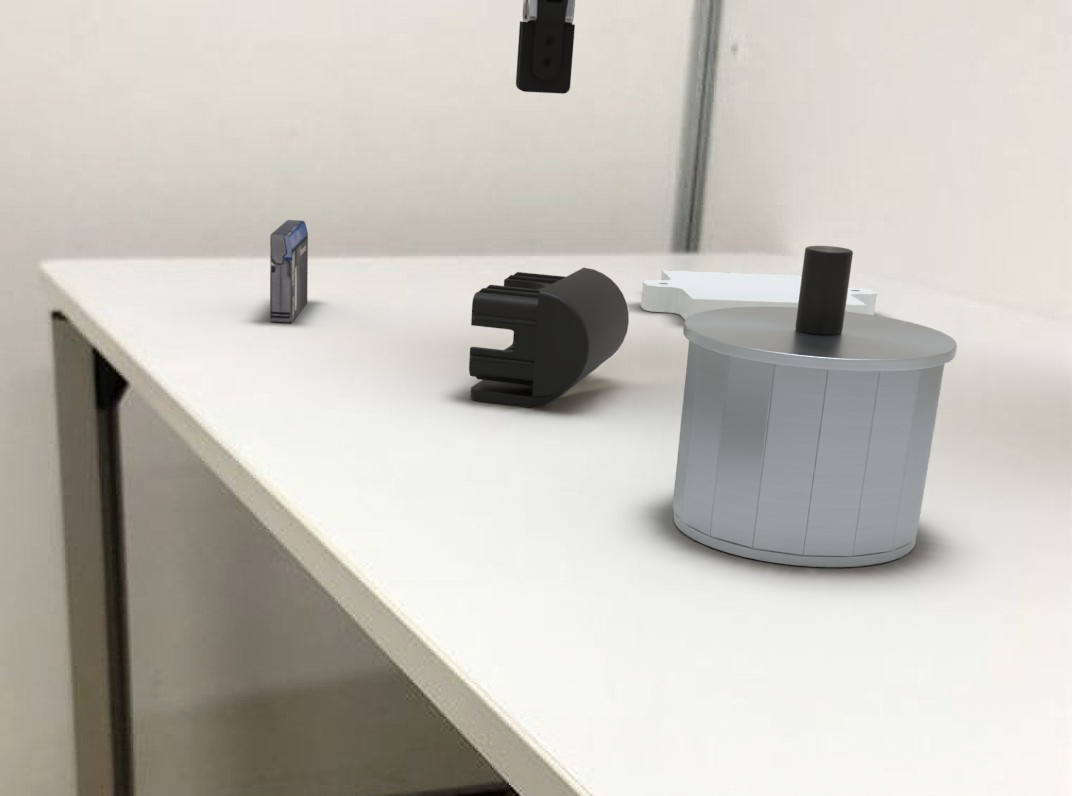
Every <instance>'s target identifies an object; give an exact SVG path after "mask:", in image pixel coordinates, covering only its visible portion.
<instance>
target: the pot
mask: <svg viewBox="0 0 1072 796" xmlns="http://www.w3.org/2000/svg"><path fill="white" fill-rule="evenodd" d="M686 359H687V360H686V368H685V369H686V370H685V378H684V390H683V400H682V409H681V418H680V420H681V421H680V428H679V438H678V449H677V458H676V468H675V477H674V488H673V499H672V509H673V522H674V524H675V526H676V527H677V528H678V530H679V531H681V532H682V533H683V534H684V535H685V536H687V537H689V538H690V539H692V540H693V541H696V542H698V543H700V544H702V545H703V546H707V547H709V548H712V549H715V550H717V551H720V552H724V553H726V554H730V555H734V556H738V557H742V558H746V559H751V560H757V561H760V562H766V563H767V562H768V563H773V564H779V565H787V566H797V567H807V568H809V567H810V568H811V567H812V568H854V567H855V568H856V567H864V566H873V565H878V564H884V563H888V562H892V561H895V560H897V559H901V558H903V557H905V556H906V555H908V554H909V553H910V552H911V551H912V550H913V549H914V547H915V546H916V541H917V535H918V530H919V524H920V518H921V513H922V506H923V501H924V494H925V487H926V483H927V475H928V469H929V462H930V457H931V452H932V451H931V450H932V444H933V440H934V439H933V437H934V432H935V426H936V419H937V413H938V407H939V400H940V394H941V389H942V381H943V376H944V370H945V364H943V365H939V366H935V367H931V368H924V369H917V370H907V371H880V372H868V371H838V370H823V369H812V368H801V367H793V366H785V365H777V364H771V363H764V362H759V361H753V360H748V359H743V358H738V357H734V356H730V355H726V354H722V353H718V352H715V351H712V350H709V349H706V348H704V347H701V346H699V345H697V344H695V343H693V342H691V341H689V340H688V349H687V357H686Z"/></svg>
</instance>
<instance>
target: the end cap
mask: <svg viewBox="0 0 1072 796" xmlns="http://www.w3.org/2000/svg"><path fill="white" fill-rule="evenodd" d="M629 315H630V314H629V309H628V304H627V301H626V299H625V296H624V293H623V292H622V291H621V289H620V287H619V286H618V284H616V282H614V281H613V280H612V279H611V278H610V277H609V276H607V275H606V274H604V273H602V272H601V271H598V270H596V269H594V268H589V267H582V268H580V269H577V271H574V272H572V273H571V274H569V275H567V276H563V275H552V274H543V273H542V274H541V273H533V272H521V271H517V272H515V273H514V274H510V275H509V276H508V277H506V278H504V279H503V285H498V284H489V285H487V286H486V287H482V288H481V289H480V290H478V291H476V292H475V293H474V295H473V298H472V304H471V320H470V326H473V327H482V328H491V329H500V330H510V331H512V332H513V336H512V337H513V338H512V344H511V345H509V346H508V347H506V348H504V349H498V348H490V347H489V348H488V347H480V346H471V347H469V361H468V373H469V376H470V377H473V378H474V377H475V379H477V380H480V381H478V382H477V383H475V384H474V385H472V386H471V387H470V394H469V395H470V399H472V400H474V401H478V402H483V403H484V402H485V403H491V404H499V405H507V406H508V405H509V406H515V407H516V406H517V407H524V408H537V407H544V406H546V405H548V404H550V403H552V402H553V401H555V400H556V399H558V398H559V397H561V396H562V395H563V394H565V393H566V392H568V391H569V390H570V389H571V388H573V387H575V385H577V384H578V383H580V382H581V381H582V380H583V379H585V378H586V377H587V376H589V375H590V374H592V373H593V372H594V371H596V370H597V369H598V368H599V367H600V366H601V365H602V364H604V363H605V362H606V361H607V360H609V359H611V358H612V356H614V354H615V353H617V351H619V349H620V348H621V346H622V344H623V343H624V341H625V338H626V336H627V333H628V329H629V322H630V321H629V319H630V317H629Z"/></svg>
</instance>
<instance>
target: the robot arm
mask: <svg viewBox="0 0 1072 796" xmlns="http://www.w3.org/2000/svg"><path fill="white" fill-rule="evenodd" d="M575 7H576V0H522V21H521V20H520V21H519V29H518V45H517V59H516V73H515V74H516V75H515V86H516V88H517V89H518V90H519V91H521V92H523V93H540V94H541V93H545V94H562V95H564V94H568V92H570V89H571V83H572V82H571V81H572V71H573V70H572V68H573V67H572V66H573V55H574V43H575V29H576V28H575V27H576V25H575V24H574V19H575Z"/></svg>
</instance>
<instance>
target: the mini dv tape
mask: <svg viewBox="0 0 1072 796" xmlns="http://www.w3.org/2000/svg"><path fill="white" fill-rule="evenodd" d="M269 237H270V241H269V243H270V244H269V246H270V247H269V252H270V253H269V254H270V256H269V257H270V258H269V260H270V261H269V266H270V267H269V322H270V323H271V322H273V323H289V324H290V323H291V324H293V322H294V320H295V319H296V318H297V317H298V315H299V314H300V313H301V312H302V310H303V309H304V308H305V306H306V305H307V304H308V280H309V279H308V274H309V273H308V271H309V270H308V267H309V266H308V265H309V264H308V263H309V262H308V261H309V260H308V259H309V245H308V244H309V232H308V229H307V224H306V222H305V221H304V220H301V219H299V220H296V219H287V220H285V222H283V223H282V224H281V225H280V226H279V227H277V228H276V229H275V230H274V231H272V233H271V234H270V235H269Z"/></svg>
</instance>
